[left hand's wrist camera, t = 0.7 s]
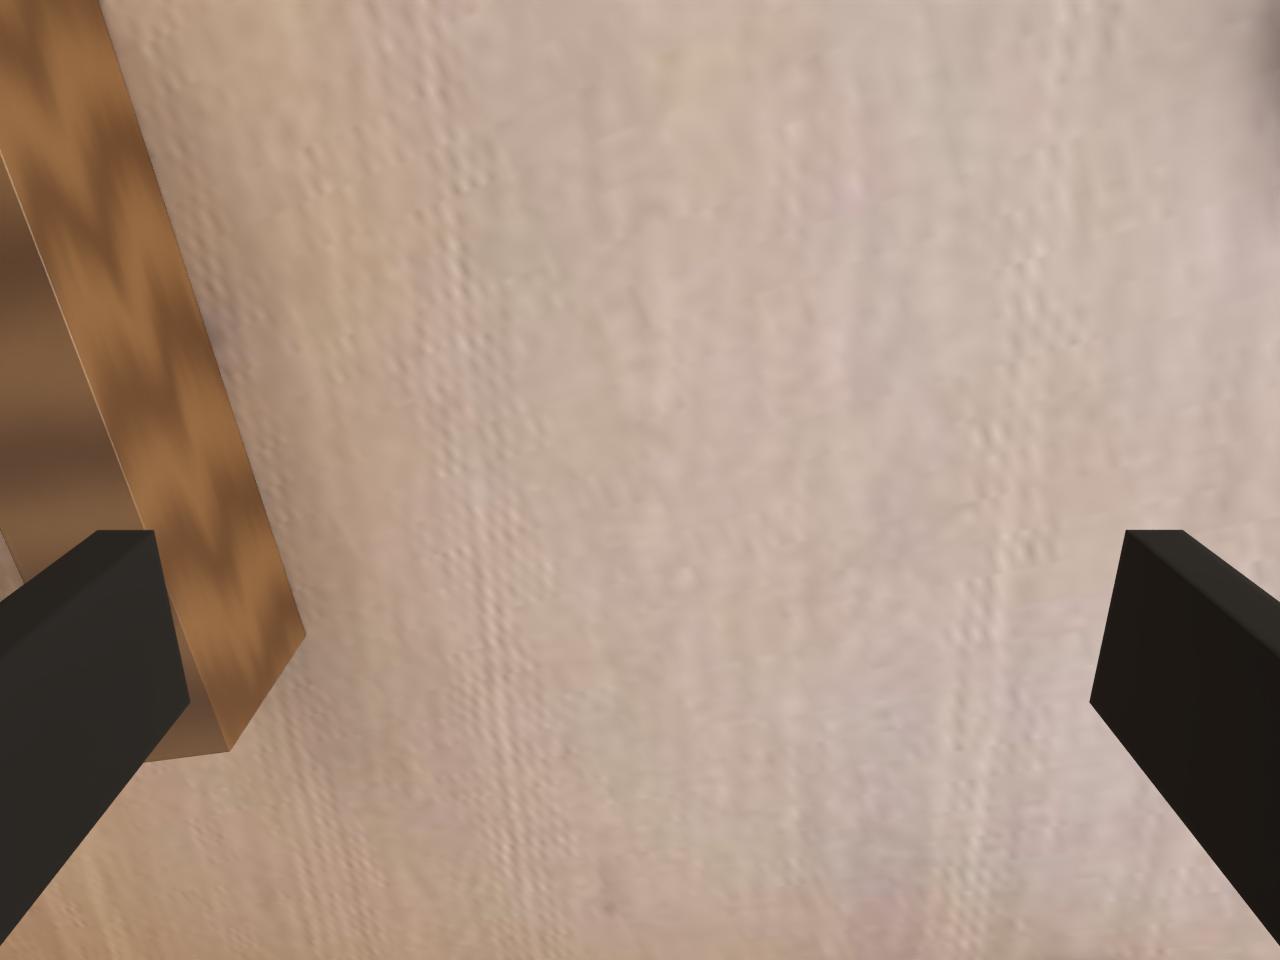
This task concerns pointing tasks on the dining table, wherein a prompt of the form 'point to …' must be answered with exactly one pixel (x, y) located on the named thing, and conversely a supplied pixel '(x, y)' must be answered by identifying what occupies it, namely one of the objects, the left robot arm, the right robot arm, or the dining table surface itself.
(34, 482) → the bar
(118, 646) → the left robot arm
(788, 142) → the dining table surface
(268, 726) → the dining table surface
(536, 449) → the dining table surface
